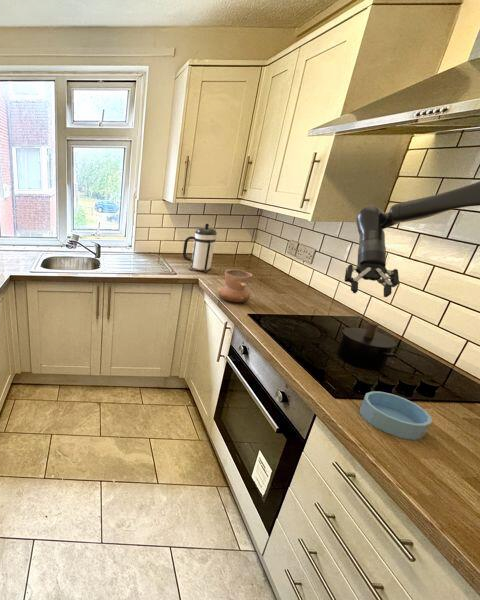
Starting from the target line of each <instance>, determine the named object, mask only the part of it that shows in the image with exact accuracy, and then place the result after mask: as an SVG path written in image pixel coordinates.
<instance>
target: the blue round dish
mask: <svg viewBox="0 0 480 600" xmlns="http://www.w3.org/2000/svg"><path fill="white" fill-rule="evenodd" d="M359 414H360V416H361V417H362V418H363V419H364V420H365V421H366V422H368V423H369V424H370V425H371V426H372V427H374V428H376V429H377V430H380V431H381V432H383V433H386V434H388V435H390V436H392V437H393V436H394V437H396V438H400V439H404V440H413V441H414V440H420V439H422V438H423V437H424V436H426V434H427V432H428V430H429V428H430V426H432V425H431V424H432V423H433V419H432V416H431V415H430V414H429V412H428V411H427V410H425V409H424V408H423V407H421V406H420V405H418V404H417V403H415V402H413V401H411V400H409V399H407V398H405V397H402V396H399V395H397V394H393V393H389V392H384V391H379V390H378V391H369V392H366V393H365V394H364V396H363V399H362V401H361V404H360V407H359Z"/></svg>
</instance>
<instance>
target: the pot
mask: <svg viewBox="0 0 480 600" xmlns="http://www.w3.org/2000/svg"><path fill="white" fill-rule="evenodd" d="M345 328H346V327H343V329H342V331H343V330H344V329H345ZM392 350H393V348H391V349H381V348H374V347H370V346H366V345H363V344H360V343H357V342H354V341H352V340H350V339H349V338H347V337H346V336H344V335H343V334H342V338H341V341H340V343H339V346H338V349H337V352H336V356H337V358H338V359H340V360H341V361H343V362H344V363H346V364H348V365H350V366H352V367H356V368H358V369H362V370H367V371H380V370H383V369H384V367H385V365H386V363H387V361H388V358H394V357H395V353H393V352H392Z"/></svg>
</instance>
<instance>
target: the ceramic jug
mask: <svg viewBox="0 0 480 600" xmlns="http://www.w3.org/2000/svg"><path fill="white" fill-rule="evenodd" d="M252 278H253V274H252V272H251V273H250V272H249V271H246V270H242V269H237V268H229V269H226V270H225V271H224V280H225V282H224V283H225V286H222V287H221V288H219V290H218V296H219V297H220V298H221V299H223V300H225V301H226V302H229V303H235V304H237V303H238V304H239V303H246V302H247V301H249V300H250V298H251V293H250V291H249V290H247V289H246V287H247V286H248V285H249V283H250V281H252Z"/></svg>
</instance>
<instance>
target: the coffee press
mask: <svg viewBox="0 0 480 600" xmlns="http://www.w3.org/2000/svg"><path fill="white" fill-rule="evenodd" d="M194 235H195V236H193V235H192V236H188V237H187V238H186V239H185V240H184V243H183V250H182V254H183V255H182V257H183V259H184V260H185V261H187V262H190V267H189V269H188V271H191V272H192V271H193V270H198V271H203V274H208V270H209V269H211V270H212V261H213V255H214V249H215V244H216V239H219V236H218V232H217V230H216V229H215V228H214V227H210V224H209V223H205V224H204V226H202V227H201V226H200V227H198V228H196V230H195V231H194ZM191 240H193V248H192V257H191V258H190V257H188V256H187V248H188V242H189V241H191Z"/></svg>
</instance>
